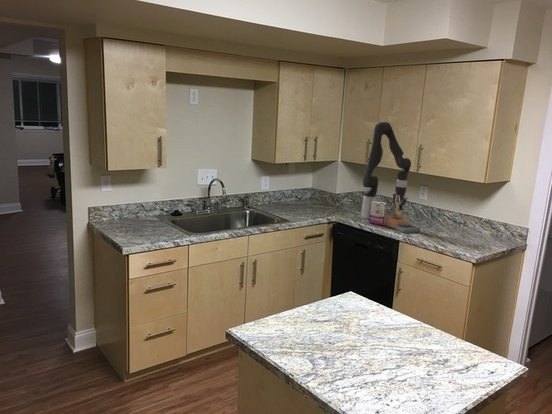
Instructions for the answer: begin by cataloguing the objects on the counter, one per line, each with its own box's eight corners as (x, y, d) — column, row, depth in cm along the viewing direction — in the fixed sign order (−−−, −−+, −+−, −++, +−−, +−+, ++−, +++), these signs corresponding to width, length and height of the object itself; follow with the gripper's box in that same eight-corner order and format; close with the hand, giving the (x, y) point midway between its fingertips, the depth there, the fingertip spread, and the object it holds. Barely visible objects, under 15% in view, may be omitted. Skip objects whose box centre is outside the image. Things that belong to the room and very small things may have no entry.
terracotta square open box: (386, 225, 336) (387, 216, 334) (397, 224, 340) (398, 216, 338) (395, 228, 327) (396, 219, 325) (406, 228, 331) (407, 219, 329)
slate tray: (393, 229, 325) (393, 225, 325) (409, 228, 331) (409, 224, 330) (403, 233, 316) (403, 228, 315) (419, 232, 321) (419, 227, 320)
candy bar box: (385, 224, 338) (387, 202, 334) (383, 225, 333) (386, 203, 330) (370, 222, 343) (372, 200, 339) (368, 223, 338) (370, 201, 335)
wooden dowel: (393, 220, 333) (395, 201, 330) (397, 220, 335) (399, 201, 332) (396, 221, 330) (398, 202, 327) (401, 221, 331) (403, 202, 328)
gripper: (390, 184, 332) (388, 207, 335) (403, 187, 319) (400, 211, 323) (399, 184, 335) (396, 207, 338) (411, 187, 322) (409, 211, 326)
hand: (398, 209), depth 331 cm, fingers closed on wooden dowel, 4 cm apart
